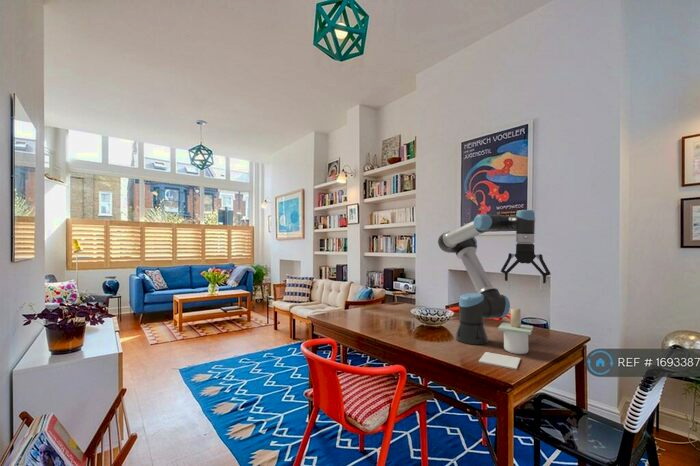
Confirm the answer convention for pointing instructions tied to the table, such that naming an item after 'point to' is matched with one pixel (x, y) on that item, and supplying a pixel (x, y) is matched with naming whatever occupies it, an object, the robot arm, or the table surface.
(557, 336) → the table surface
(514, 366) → the mat
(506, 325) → the lid
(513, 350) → the cup
